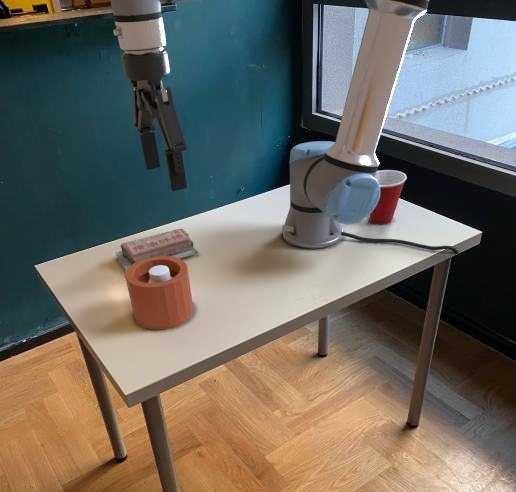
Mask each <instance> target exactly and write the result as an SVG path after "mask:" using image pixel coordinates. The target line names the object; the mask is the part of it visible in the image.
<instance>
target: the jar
mask: <svg viewBox="0 0 516 492" xmlns="http://www.w3.org/2000/svg"><path fill="white" fill-rule="evenodd" d="M159 265H163V266H167V267H168V268H169V272H170V276H171V277H172V278H171V279H169V280H167V281H163V282H158V283H148V281H149V279H150V276H149V270H150V269H151V268H152V267H154V266H159ZM124 276H125V277H124V279H125V282H126V287H127V291H128V295H129V300H130V305H131V309H132V313H133V317H134V320H135V321H136V323H137V324H138V325H139V326H140V327H142V328H144V329H148V330H154V331H155V330H156V331H157V330H158V331H162V330H169V329H173V328H176V327H179V326H181V325H183V324H184V323H186V322H188V321H189V319H191V317H192V316H193V313H194V304H193V303H194V302H193V296H192V288H191V282H190V275H189V268H188V264H187V263H186V262H185V261H184V260H183V259H178V258H175V257H170V256H157V257H150V258H146V259H143V260H140V261H138V262H136V263H134V264H133V265H131V266H130V267H129V268H128V269H127V271H126V270H125V273H124Z"/></svg>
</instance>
